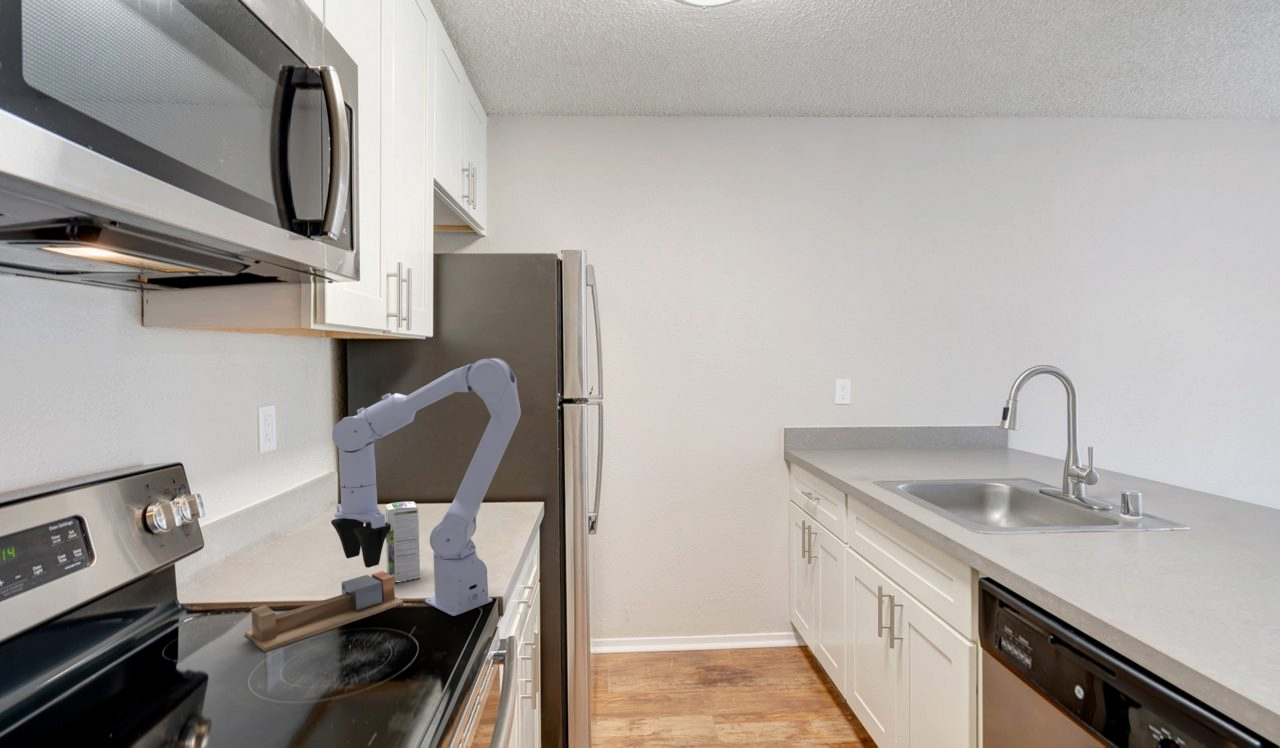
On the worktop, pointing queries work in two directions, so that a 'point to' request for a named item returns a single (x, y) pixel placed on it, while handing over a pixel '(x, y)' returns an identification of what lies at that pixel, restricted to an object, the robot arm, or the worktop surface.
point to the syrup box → (403, 541)
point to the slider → (363, 591)
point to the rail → (315, 617)
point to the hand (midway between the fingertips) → (362, 561)
